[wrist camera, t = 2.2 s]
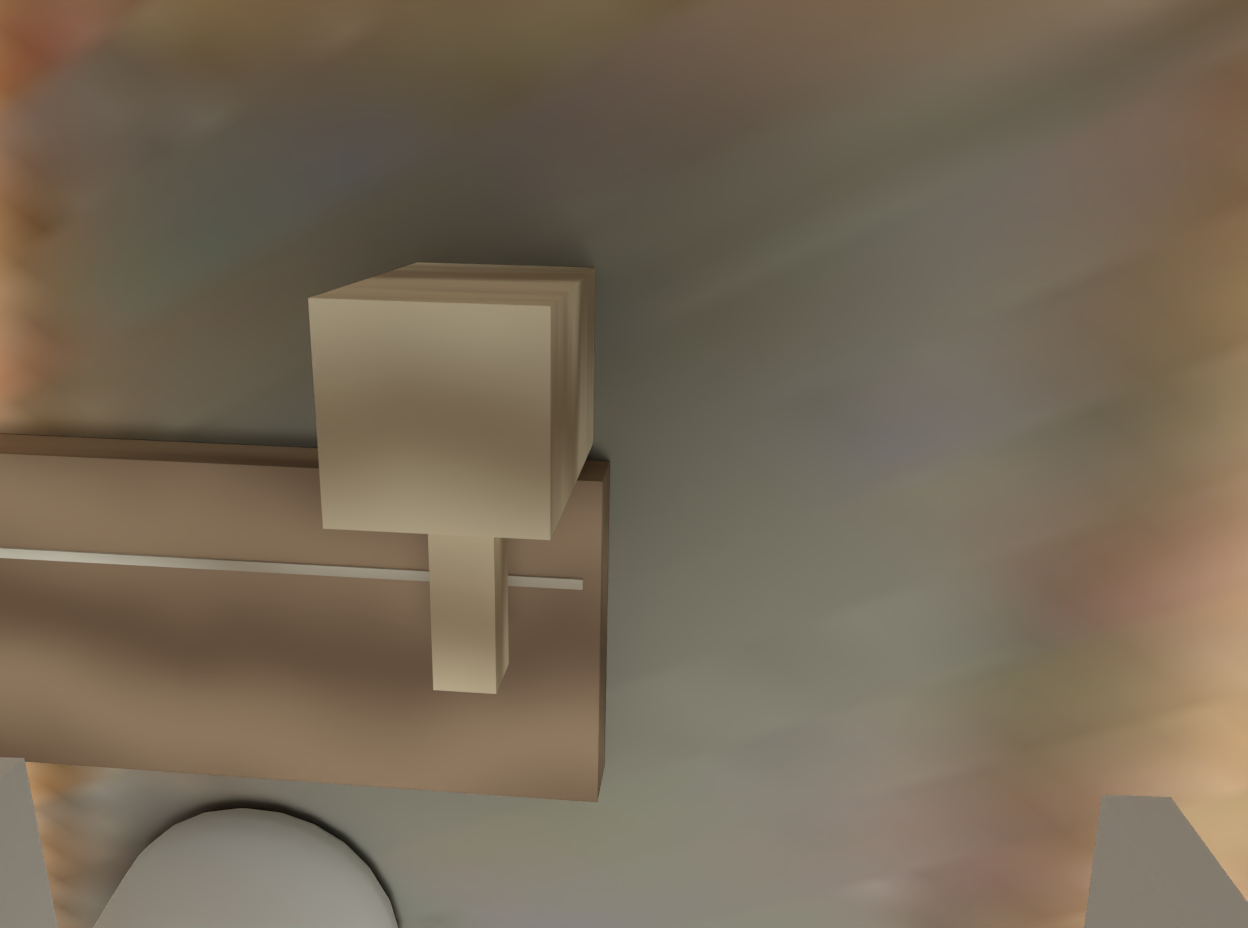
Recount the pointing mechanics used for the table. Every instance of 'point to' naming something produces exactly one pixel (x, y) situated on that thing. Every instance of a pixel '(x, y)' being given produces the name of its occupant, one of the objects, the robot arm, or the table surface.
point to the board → (278, 628)
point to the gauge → (456, 428)
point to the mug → (248, 878)
